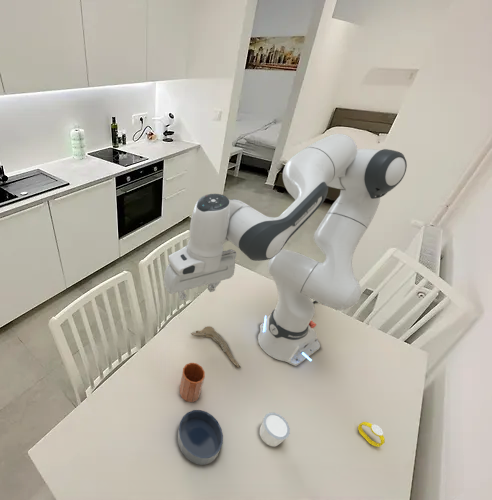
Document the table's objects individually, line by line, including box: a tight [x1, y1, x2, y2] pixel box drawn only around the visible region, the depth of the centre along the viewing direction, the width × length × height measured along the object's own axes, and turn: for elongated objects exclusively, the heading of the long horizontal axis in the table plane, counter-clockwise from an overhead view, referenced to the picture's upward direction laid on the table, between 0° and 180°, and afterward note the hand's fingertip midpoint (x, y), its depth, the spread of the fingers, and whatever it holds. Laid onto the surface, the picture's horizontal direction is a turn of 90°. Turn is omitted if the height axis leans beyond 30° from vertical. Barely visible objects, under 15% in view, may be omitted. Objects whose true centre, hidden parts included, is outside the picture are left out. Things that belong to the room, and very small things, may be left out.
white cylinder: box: [259, 412, 291, 447], centre depth 80 cm, size 7×7×7 cm
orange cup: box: [179, 362, 206, 403], centre depth 88 cm, size 6×6×12 cm
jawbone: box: [190, 326, 242, 369], centre depth 106 cm, size 9×20×2 cm, turn 49°
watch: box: [357, 421, 386, 448], centre depth 80 cm, size 6×3×6 cm, turn 27°
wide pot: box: [177, 409, 224, 466], centre depth 79 cm, size 12×12×6 cm
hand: (196, 294), depth 81 cm, fingers open, 8 cm apart
